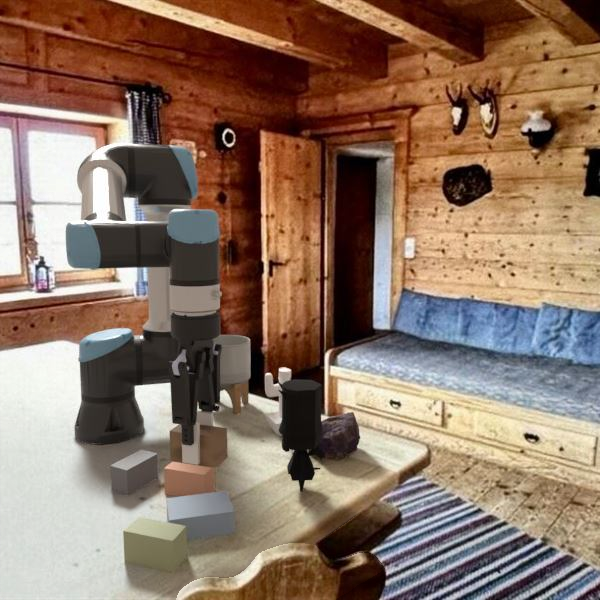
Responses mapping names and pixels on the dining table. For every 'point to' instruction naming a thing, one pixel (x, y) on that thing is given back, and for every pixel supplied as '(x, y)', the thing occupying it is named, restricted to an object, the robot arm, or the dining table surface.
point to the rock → (339, 436)
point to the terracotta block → (188, 479)
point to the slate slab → (202, 514)
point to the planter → (234, 368)
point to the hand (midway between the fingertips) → (198, 456)
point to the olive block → (155, 544)
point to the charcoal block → (134, 472)
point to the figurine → (272, 391)
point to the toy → (301, 426)
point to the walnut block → (202, 445)
